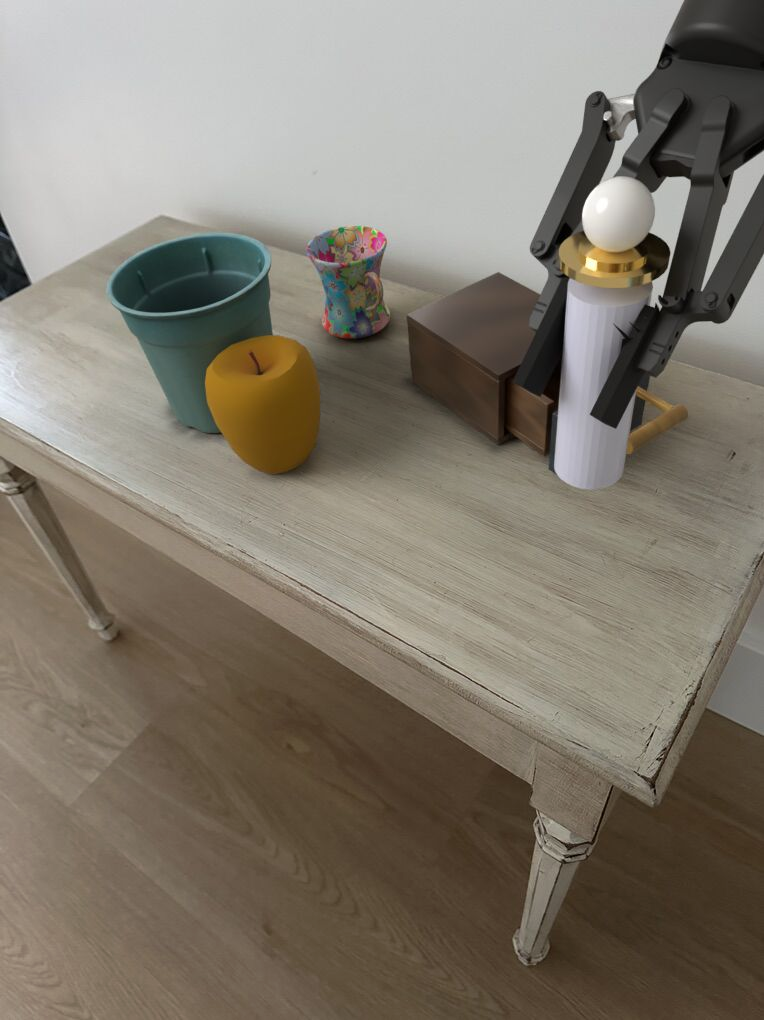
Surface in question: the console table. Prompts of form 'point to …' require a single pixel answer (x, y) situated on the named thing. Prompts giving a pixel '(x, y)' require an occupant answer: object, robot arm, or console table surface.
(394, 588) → the console table surface
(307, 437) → the apple
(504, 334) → the cabinet
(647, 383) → the drawer
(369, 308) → the mug
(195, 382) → the flower pot
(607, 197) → the perfume bottle
